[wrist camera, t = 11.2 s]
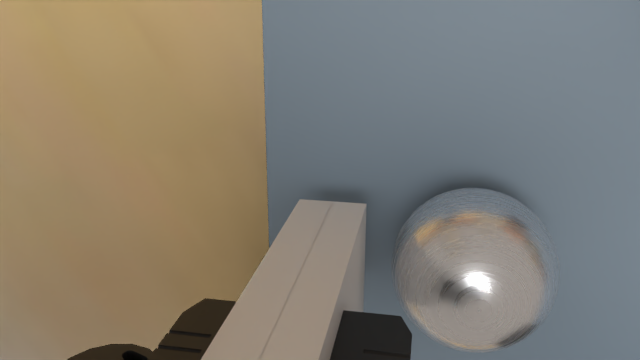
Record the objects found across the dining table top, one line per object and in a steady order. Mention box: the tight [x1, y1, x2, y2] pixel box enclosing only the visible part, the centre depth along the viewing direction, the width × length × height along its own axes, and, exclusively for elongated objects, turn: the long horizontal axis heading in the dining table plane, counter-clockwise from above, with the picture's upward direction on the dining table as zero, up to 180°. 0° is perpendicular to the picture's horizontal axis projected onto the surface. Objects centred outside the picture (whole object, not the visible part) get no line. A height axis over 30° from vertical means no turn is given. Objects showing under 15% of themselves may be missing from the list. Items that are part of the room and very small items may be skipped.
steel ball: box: [391, 188, 560, 353], centre depth 13 cm, size 4×4×4 cm
